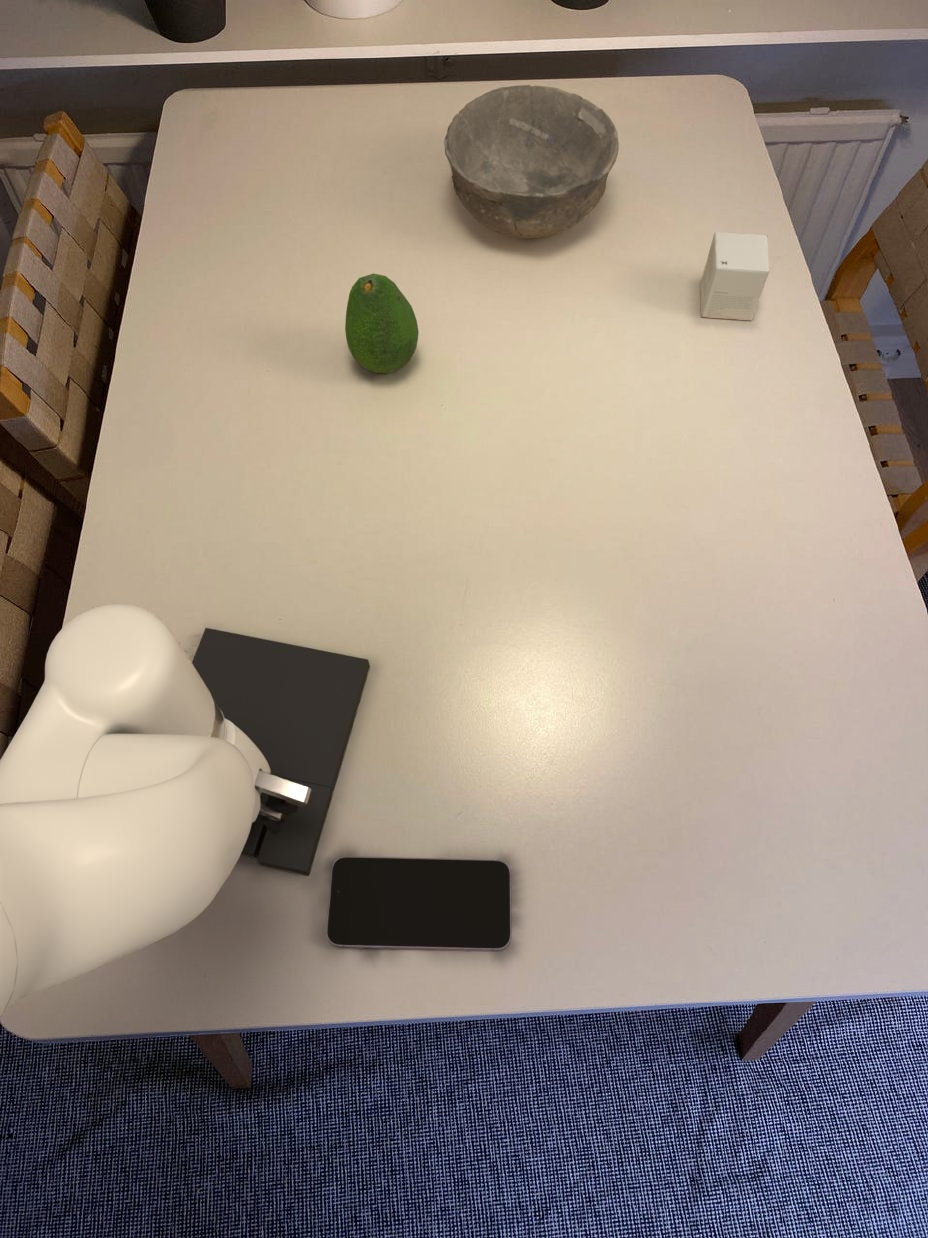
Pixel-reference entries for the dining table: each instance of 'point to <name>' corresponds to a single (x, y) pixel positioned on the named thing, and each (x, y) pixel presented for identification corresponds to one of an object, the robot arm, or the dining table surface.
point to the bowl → (530, 159)
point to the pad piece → (255, 833)
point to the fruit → (380, 325)
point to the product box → (734, 275)
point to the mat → (287, 722)
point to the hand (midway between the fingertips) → (225, 804)
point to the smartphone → (419, 903)
